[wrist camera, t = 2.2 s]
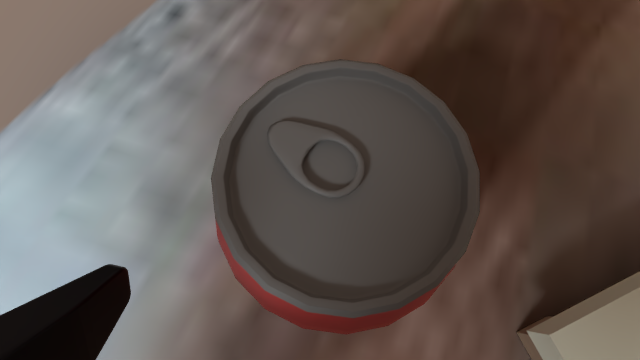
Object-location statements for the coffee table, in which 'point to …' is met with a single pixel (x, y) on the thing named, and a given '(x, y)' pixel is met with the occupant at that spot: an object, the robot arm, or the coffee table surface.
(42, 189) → the coffee table surface
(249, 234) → the beer can
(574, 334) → the white square platform
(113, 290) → the robot arm
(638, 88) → the coffee table surface
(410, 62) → the coffee table surface
